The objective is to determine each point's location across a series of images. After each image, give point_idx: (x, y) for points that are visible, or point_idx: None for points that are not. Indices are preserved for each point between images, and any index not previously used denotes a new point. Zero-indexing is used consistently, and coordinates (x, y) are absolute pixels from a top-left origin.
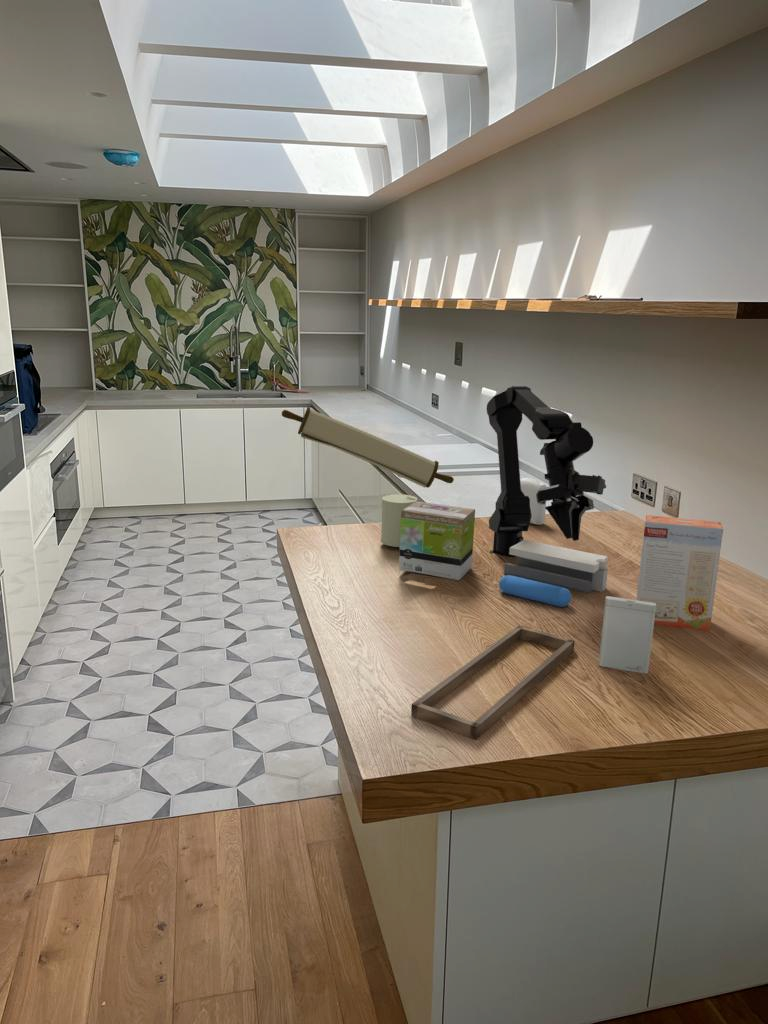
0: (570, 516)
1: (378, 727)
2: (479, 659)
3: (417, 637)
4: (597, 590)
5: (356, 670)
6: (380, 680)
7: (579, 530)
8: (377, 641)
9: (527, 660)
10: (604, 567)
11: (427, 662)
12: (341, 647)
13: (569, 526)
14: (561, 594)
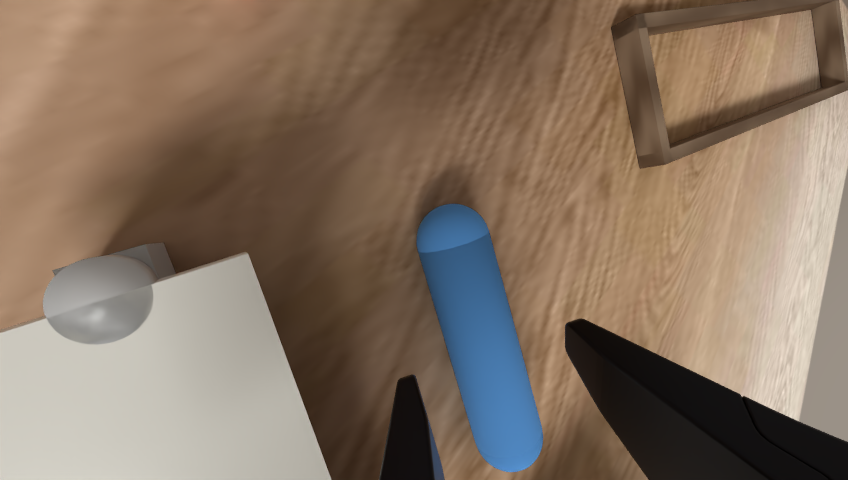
0: (796, 449)
1: (845, 104)
2: (769, 111)
3: (743, 282)
4: (171, 265)
5: (818, 235)
6: (814, 191)
7: (395, 454)
8: (778, 304)
9: (686, 78)
10: (121, 256)
11: (769, 193)
12: (806, 313)
13: (679, 369)
14: (484, 222)
